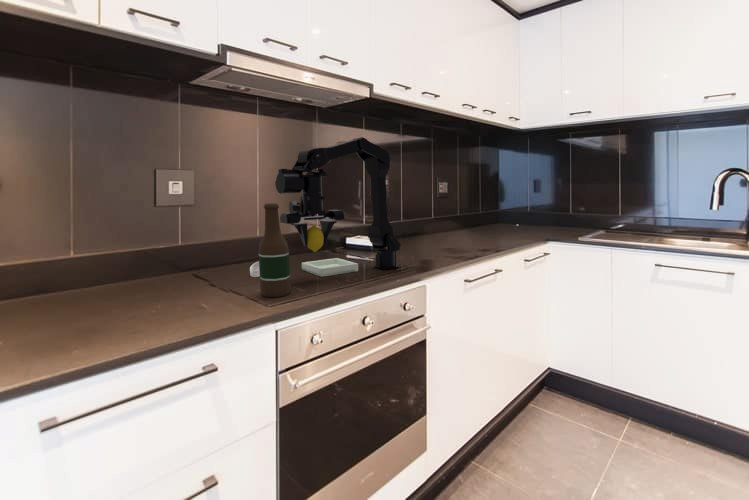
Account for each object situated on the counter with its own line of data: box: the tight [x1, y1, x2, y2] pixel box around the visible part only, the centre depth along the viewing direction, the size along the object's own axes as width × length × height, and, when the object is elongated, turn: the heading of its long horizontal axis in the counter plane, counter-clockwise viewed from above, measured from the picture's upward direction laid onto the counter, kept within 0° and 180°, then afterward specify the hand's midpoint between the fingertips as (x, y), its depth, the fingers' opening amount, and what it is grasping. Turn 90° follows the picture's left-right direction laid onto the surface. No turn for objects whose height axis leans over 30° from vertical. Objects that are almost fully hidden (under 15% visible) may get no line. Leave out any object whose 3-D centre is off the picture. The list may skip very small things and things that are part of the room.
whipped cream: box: [249, 261, 260, 278], centre depth 132 cm, size 8×7×5 cm
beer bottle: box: [258, 202, 292, 298], centre depth 107 cm, size 8×8×24 cm
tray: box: [301, 257, 359, 278], centre depth 138 cm, size 14×14×2 cm
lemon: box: [307, 225, 324, 253], centre depth 121 cm, size 6×6×8 cm
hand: (314, 245), depth 122 cm, fingers closed on lemon, 5 cm apart
